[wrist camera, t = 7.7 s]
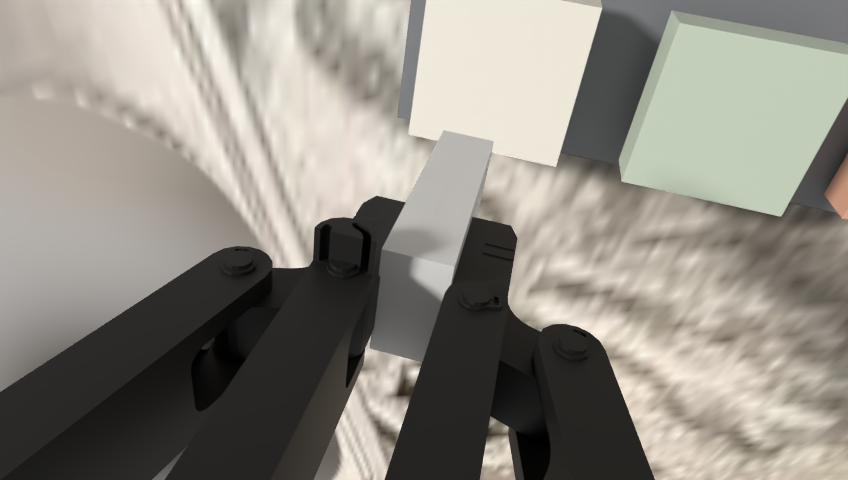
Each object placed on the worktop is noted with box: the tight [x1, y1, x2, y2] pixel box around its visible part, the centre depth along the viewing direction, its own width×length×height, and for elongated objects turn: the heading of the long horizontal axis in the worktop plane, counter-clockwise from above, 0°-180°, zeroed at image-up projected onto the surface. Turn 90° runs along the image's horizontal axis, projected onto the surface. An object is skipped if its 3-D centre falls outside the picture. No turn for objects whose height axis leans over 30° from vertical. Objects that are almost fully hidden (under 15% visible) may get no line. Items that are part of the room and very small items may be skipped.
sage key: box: [619, 11, 848, 217], centre depth 25 cm, size 7×7×2 cm
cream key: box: [409, 0, 602, 167], centre depth 27 cm, size 7×7×2 cm
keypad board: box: [397, 0, 848, 213], centre depth 27 cm, size 30×14×2 cm, turn 82°
